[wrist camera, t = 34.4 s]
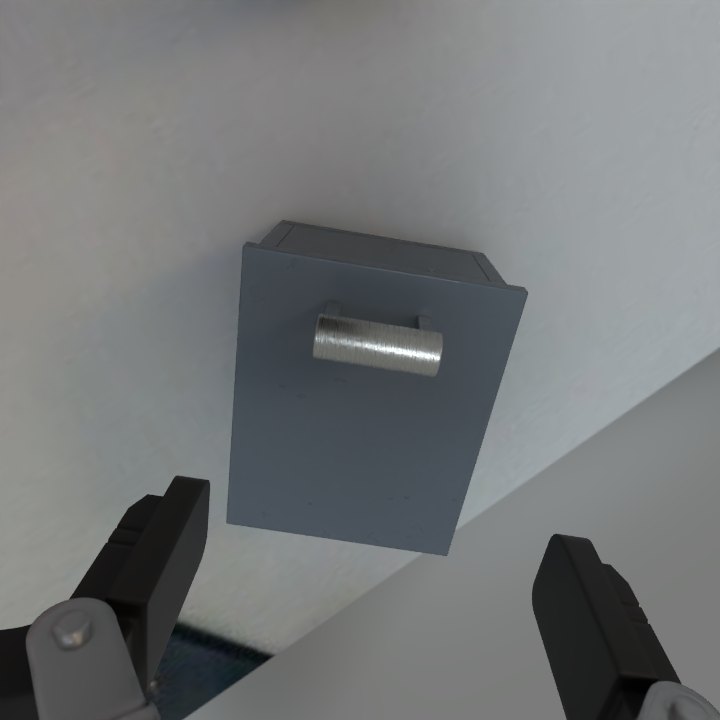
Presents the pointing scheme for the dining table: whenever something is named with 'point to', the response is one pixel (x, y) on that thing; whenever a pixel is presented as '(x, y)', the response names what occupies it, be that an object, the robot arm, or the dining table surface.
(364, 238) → the grey storage box
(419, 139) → the dining table surface
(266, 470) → the grey box lid
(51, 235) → the dining table surface
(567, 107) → the dining table surface
